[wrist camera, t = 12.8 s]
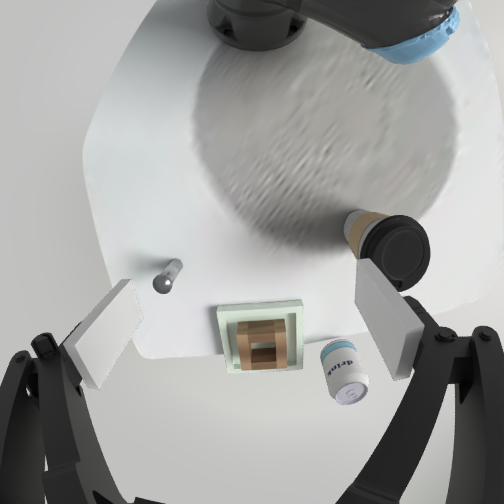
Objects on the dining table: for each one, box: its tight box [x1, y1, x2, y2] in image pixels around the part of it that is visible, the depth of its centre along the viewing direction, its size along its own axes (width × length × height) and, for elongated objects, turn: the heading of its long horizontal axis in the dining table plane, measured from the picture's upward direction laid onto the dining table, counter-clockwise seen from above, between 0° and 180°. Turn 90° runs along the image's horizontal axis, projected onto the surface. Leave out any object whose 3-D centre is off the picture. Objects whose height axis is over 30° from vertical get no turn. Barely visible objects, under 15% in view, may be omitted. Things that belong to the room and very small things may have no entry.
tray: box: [216, 300, 303, 373], centre depth 48 cm, size 14×14×2 cm
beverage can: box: [320, 339, 369, 405], centre depth 44 cm, size 7×7×12 cm
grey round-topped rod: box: [153, 259, 183, 294], centre depth 41 cm, size 3×3×8 cm
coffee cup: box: [344, 210, 430, 292], centre depth 35 cm, size 9×9×15 cm
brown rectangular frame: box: [236, 319, 287, 371], centre depth 47 cm, size 10×8×4 cm
